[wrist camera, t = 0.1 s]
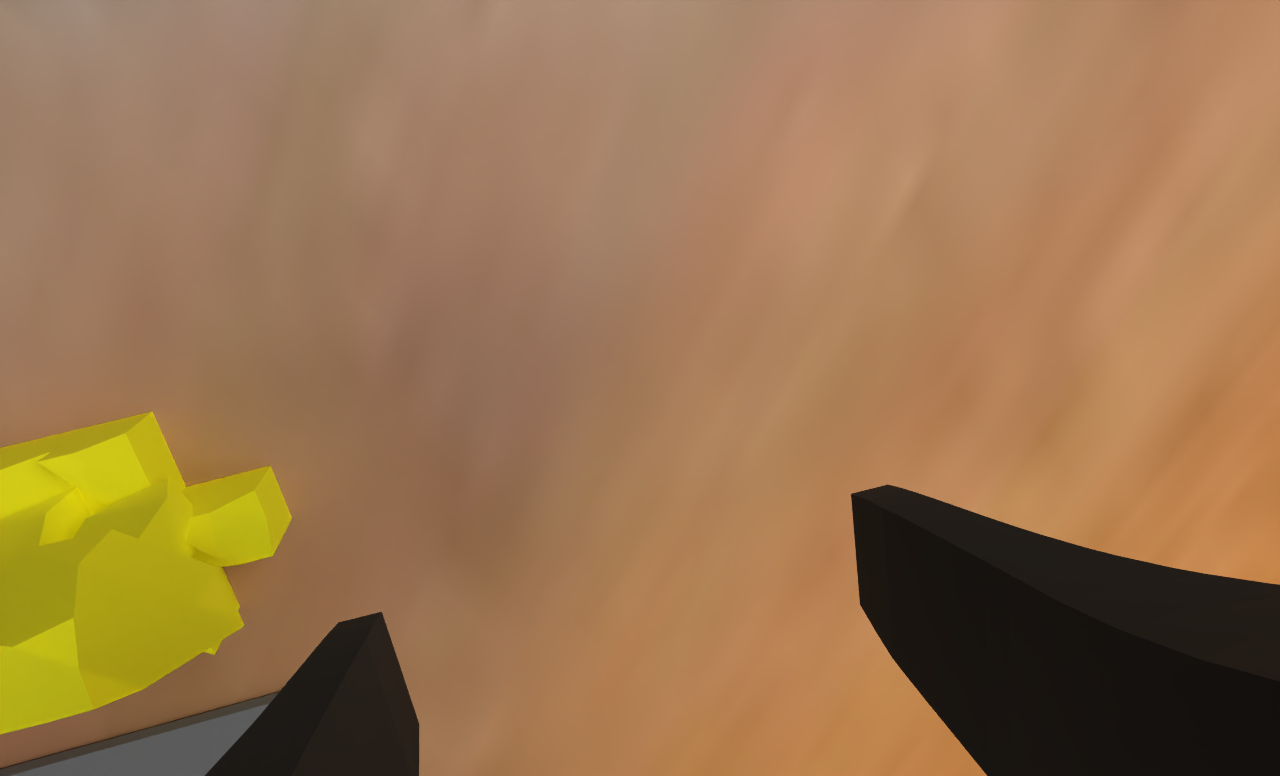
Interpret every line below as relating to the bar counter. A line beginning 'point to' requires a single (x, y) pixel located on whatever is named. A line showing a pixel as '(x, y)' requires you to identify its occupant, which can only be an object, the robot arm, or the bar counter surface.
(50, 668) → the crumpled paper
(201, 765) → the mat
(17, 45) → the bar counter surface
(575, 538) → the bar counter surface
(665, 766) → the bar counter surface
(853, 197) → the bar counter surface
